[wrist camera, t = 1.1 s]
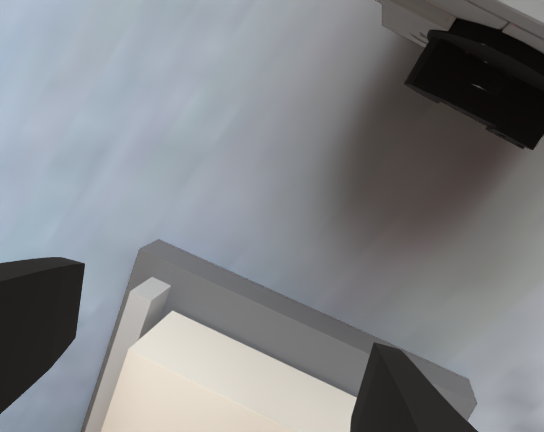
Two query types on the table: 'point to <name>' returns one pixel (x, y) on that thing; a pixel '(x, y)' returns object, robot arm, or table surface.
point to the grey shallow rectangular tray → (246, 327)
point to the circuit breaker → (479, 60)
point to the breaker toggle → (217, 387)
